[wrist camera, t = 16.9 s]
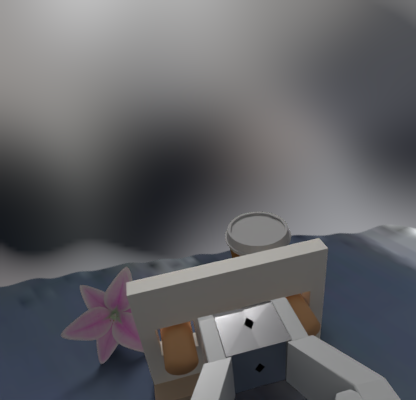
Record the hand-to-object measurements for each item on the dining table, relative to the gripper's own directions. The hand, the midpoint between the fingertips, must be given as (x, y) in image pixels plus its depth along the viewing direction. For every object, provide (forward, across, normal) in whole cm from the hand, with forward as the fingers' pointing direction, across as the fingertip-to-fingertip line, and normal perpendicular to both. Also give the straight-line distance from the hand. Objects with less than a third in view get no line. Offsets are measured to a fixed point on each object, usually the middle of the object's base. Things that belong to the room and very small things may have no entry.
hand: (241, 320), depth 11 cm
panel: (+20, -4, +31) cm, 37 cm away
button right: (+19, -11, +25) cm, 33 cm away
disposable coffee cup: (+31, -11, +32) cm, 46 cm away
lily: (+28, +11, +32) cm, 44 cm away
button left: (+19, +3, +25) cm, 32 cm away
